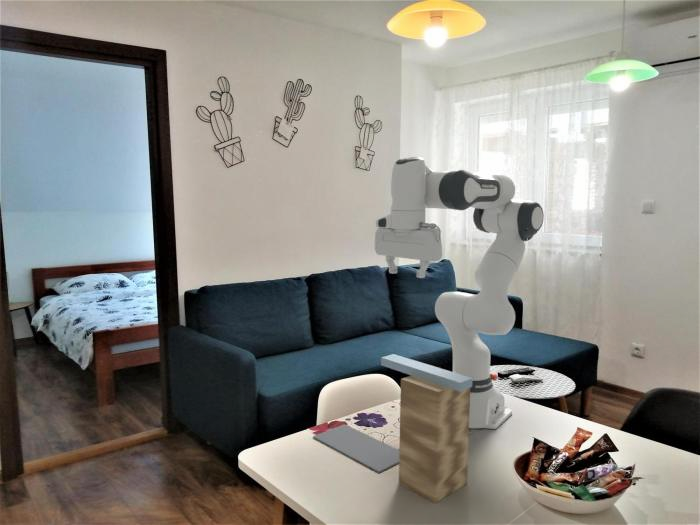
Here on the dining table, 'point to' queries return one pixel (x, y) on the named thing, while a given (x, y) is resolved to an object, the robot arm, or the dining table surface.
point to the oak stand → (433, 438)
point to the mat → (360, 447)
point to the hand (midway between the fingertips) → (406, 275)
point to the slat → (427, 372)
